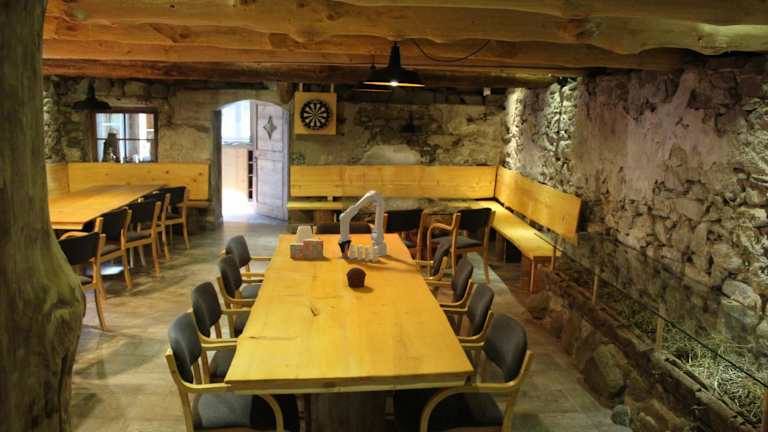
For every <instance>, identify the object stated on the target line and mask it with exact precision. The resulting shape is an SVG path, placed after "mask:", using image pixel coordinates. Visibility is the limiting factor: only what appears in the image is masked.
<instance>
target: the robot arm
mask: <svg viewBox="0 0 768 432" xmlns="http://www.w3.org/2000/svg"><path fill="white" fill-rule="evenodd" d="M369 202H373V203H374V204H375V205H376V209H375V216H374V217H375V219H374V227H373V229H372V231H371V235H370V239H371V247H372V248H371V256H373V247H375V246H378V257H382V256H388V254H387V251H388V250H387V247H388V246H387V243H386V242H385V235H384V229H383V227H384V225H383V224H384V217H385V205H386V202H385V199H384V197H383V194H382V193H381V192H380V191H376V190H374V189H371V190H369V191H368V192H366V193H365V194H364V196H363V197H362V198H361V199H360V200H359V201H358V202H357V203H355V205H350V206H349V207H348V208H347V210H345V211H343V213H341V214H340V215H339V217H338V219H339V221H340V224H339V225H340V230H339V231H340V232H339V233H340V234H339V235H340V237H339V238H338V242H337V244H338V246H339V249H340V253H341V254H342V253H345V247H346V244H348V252H349V246H350V245H352V235H350V222H351V219H352V218H353V217H354V216H355V215H357V214H358V212H359V210H360V209H361V208H362V207H363V206H364V205H365V204H367V203H369Z"/></svg>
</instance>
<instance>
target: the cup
mask: <svg viewBox="0 0 768 432" xmlns="http://www.w3.org/2000/svg"><path fill="white" fill-rule="evenodd" d="M296 230H297V231H296V235H295V239H294V240H295V241H294V242H295V243H303V240H304V239H315V238H314V235H313V230H312V228H311V226H310V225H299V226H298V227H297V229H296Z"/></svg>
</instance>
